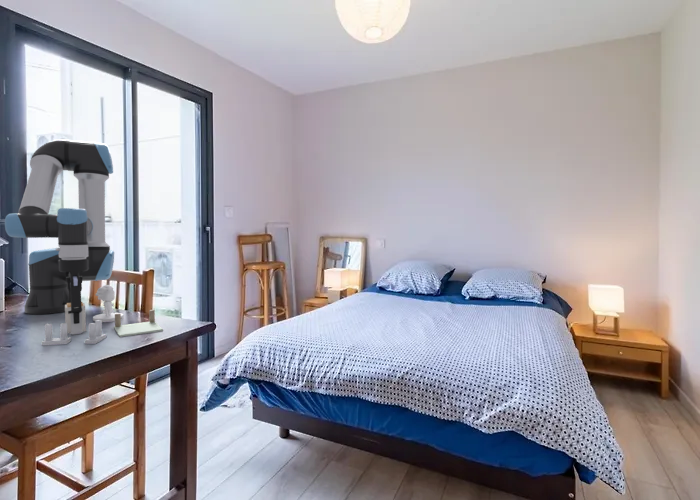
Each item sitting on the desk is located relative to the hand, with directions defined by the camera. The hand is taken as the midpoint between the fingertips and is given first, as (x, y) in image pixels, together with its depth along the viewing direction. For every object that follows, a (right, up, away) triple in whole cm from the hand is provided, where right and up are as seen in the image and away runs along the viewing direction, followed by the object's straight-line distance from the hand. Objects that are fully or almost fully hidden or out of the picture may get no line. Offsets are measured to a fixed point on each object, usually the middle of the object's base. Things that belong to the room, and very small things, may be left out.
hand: (75, 329), depth 123 cm
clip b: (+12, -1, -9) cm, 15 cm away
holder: (+18, 0, +3) cm, 18 cm away
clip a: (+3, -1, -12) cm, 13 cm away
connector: (0, 0, 0) cm, 0 cm away
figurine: (+1, +1, +15) cm, 15 cm away
